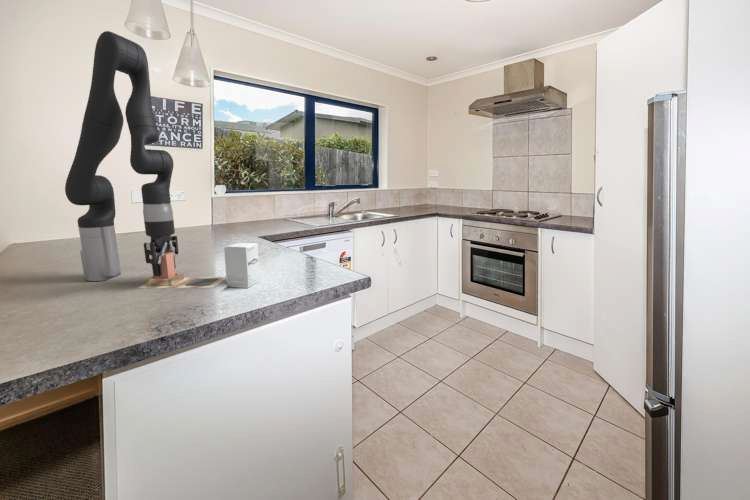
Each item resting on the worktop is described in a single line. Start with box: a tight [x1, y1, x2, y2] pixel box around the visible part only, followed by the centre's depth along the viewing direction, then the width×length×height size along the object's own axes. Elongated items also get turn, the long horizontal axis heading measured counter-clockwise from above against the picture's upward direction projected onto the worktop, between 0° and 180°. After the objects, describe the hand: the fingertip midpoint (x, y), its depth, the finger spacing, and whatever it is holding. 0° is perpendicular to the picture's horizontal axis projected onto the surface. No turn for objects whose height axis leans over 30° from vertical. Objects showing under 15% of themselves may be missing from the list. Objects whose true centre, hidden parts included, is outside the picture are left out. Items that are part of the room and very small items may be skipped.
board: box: [137, 272, 226, 289], centre depth 111 cm, size 22×11×3 cm, turn 92°
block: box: [155, 252, 176, 279], centre depth 110 cm, size 4×4×9 cm
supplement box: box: [223, 242, 261, 289], centre depth 111 cm, size 7×7×13 cm
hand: (165, 272), depth 110 cm, fingers open, 7 cm apart
